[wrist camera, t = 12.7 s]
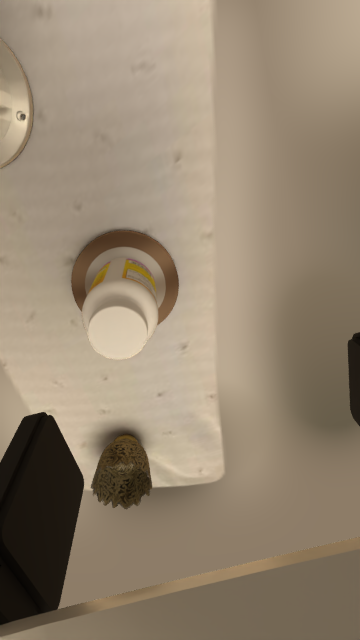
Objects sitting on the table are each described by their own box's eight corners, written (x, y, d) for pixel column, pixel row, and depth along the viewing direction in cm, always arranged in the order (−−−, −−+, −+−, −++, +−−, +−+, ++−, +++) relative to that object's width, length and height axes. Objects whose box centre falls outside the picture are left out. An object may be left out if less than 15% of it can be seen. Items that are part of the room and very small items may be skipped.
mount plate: (57, 246, 38) (53, 249, 36) (162, 217, 37) (162, 219, 36) (95, 339, 43) (93, 346, 41) (188, 314, 42) (189, 320, 41)
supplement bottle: (101, 315, 39) (81, 375, 28) (90, 259, 37) (64, 298, 25) (158, 309, 40) (163, 365, 28) (152, 252, 37) (154, 289, 25)
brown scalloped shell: (123, 412, 47) (118, 456, 40) (162, 439, 50) (164, 485, 42) (89, 444, 49) (78, 491, 42) (128, 468, 52) (124, 517, 44)
